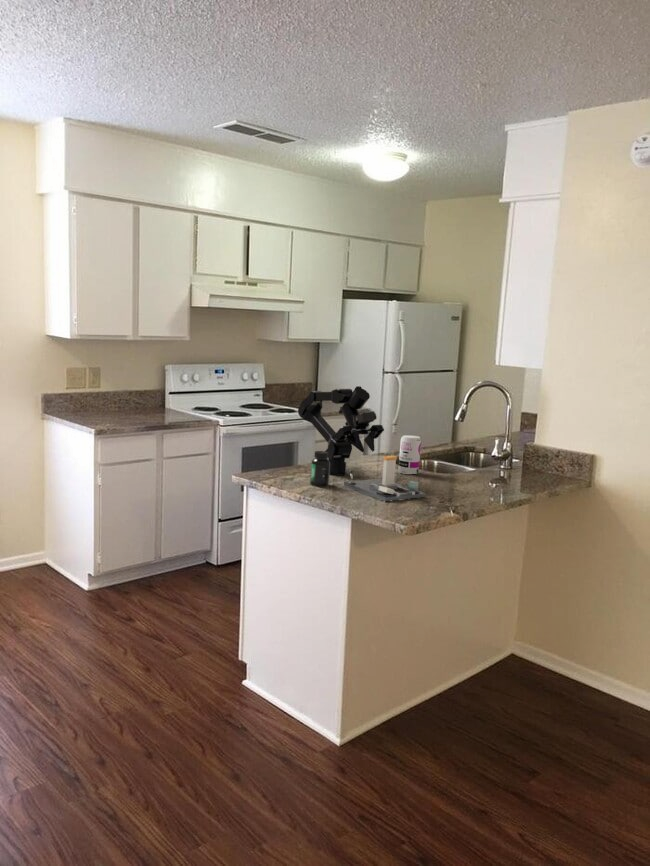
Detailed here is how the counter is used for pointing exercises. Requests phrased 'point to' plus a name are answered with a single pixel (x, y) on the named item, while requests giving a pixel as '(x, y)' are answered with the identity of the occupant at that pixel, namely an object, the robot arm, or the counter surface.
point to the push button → (413, 485)
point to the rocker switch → (386, 489)
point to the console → (372, 488)
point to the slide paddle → (389, 472)
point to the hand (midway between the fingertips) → (368, 451)
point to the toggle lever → (351, 474)
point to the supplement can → (409, 454)
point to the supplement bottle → (320, 469)
